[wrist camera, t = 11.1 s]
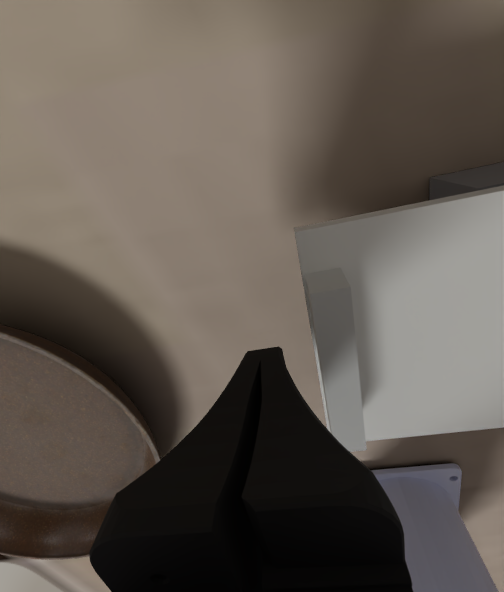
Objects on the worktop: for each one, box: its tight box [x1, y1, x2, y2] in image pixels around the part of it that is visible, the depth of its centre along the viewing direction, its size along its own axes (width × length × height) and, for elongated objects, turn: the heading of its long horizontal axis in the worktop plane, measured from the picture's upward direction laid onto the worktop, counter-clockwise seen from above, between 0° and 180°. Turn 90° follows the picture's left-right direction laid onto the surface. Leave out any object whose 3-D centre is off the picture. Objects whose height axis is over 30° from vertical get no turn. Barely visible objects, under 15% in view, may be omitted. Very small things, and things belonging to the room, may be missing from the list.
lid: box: [294, 185, 504, 452], centre depth 11 cm, size 10×10×2 cm
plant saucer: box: [0, 325, 161, 560], centre depth 20 cm, size 21×21×3 cm
